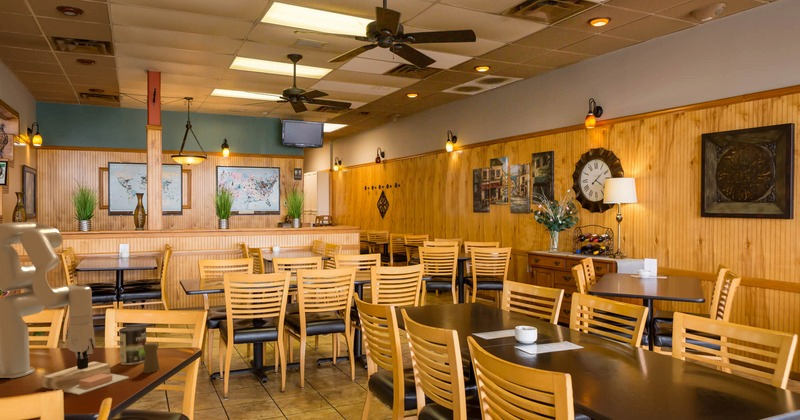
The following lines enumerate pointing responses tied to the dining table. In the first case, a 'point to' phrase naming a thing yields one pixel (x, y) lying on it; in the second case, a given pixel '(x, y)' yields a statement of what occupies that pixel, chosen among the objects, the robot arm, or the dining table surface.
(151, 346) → the cork
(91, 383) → the terracotta tile
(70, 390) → the grey mat
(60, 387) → the birch board
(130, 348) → the coffee can
